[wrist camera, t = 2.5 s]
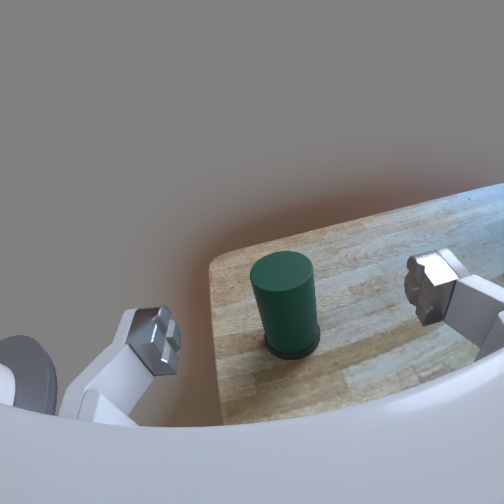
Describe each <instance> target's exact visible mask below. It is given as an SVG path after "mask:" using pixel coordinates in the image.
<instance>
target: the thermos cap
mask: <svg viewBox="0 0 504 504" xmlns="http://www.w3.org/2000/svg"><path fill="white" fill-rule="evenodd" d="M250 280H251V283H252V287H253V291H254V294H255V298H256V302H257V305H258V309H259V313H260V316H261V320H262V324H263V327H264V331H265V336H264V337H265V342H266V346H267V348H268V350H269V351H270V352H271V353H272V354H273V355H275V356H276V357H279V358H282V359H287V360H294V359H299V358H302V357H305V356H307V355H308V354H310V353H311V352H312V351H314V349H315V348H316V347H317V345H318V343H319V340H320V328H319V325H318V323H317V311H316V298H315V286H314V274H313V265H312V263H311V261H310V260H309V259H308V258H307V257H306V256H305V255H303V254H300V253H297V252H292V251H281V252H275V253H272V254H269V255H267V256H265V257H263V258H261V259H260V260H258V261H257V262H256V263H255V264H254V265H253V267H252V269H251V271H250Z"/></svg>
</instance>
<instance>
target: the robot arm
mask: <svg viewBox="0 0 504 504" xmlns="http://www.w3.org/2000/svg"><path fill="white" fill-rule="evenodd" d="M407 268H408V270H409V273H408V274H407V275H406V277H405V283H404V286H405V293H406V296H407V299H408V300H409V302H410V304H412V305H414V306H416V312H415V313H416V315H417V316H418V318H419V320H420V322H421V324H422V325H423V326H427V325H430V324H433V323H437V322H440V321H443V320H444V321H443V322H445V323H446V324H448V325H449V326H450V327H452V328H453V329H455V330H456V331H457V332H459V333H460V334H461V335H463V336H464V337H465V338H467V339H468V340H470V341H471V342H472V343H474V344H475V345H476V346H478V347H479V348H480V350H479V352H478V354H477V356H476V357H475V360H474V362H473V363H471V364H469V365H467V366H465V367H463V368H460V369H458V370H456V371H453V372H451V373H449V374H446V375H444V376H441V377H439V378H436V379H434V380H431V381H429V382H426V383H423V384H421V385H418V386H415V387H412V388H409V389H406V390H403V391H400V392H397V393H394V394H391V395H388V396H385V397H381V398H378V399H374V400H371V401H367V402H363V403H360V404H356V405H352V406H348V407H344V408H339V409H335V410H331V411H326V412H321V413H316V414H311V415H306V416H300V417H294V418H288V419H281V420H274V421H267V422H258V423H249V424H239V425H226V426H211V427H210V426H209V427H143V426H138V425H137V423H136V422H134V421H133V420H132V419H131V418H129V417H128V414H129V413H130V411H131V410H132V409H133V407H134V406H135V405H136V403H137V402H138V400H139V399H140V397H141V396H142V394H143V393H144V391H145V390H146V389H147V387H148V386H149V385H150V383H151V382H152V380H153V379H154V376H162V375H173V374H176V372H177V366H178V359H179V358H178V357H177V355H176V354H175V353H176V352H177V351H178V350H179V349H180V346H181V334H180V330H179V327H178V325H177V323H176V322H175V321H173V320H171V319H170V314H171V313H170V311H169V309H168V308H167V306H164V305H161V306H153V307H145V308H138V309H130V310H126V311H125V312H124V313H123V315H122V318H121V321H120V323H119V326H118V329H117V332H116V334H115V337H114V340H113V343H112V345H110V346H107V347H106V348H105V349H104V350H103V351H102V352H101V353H100V354H99V355H98V356H97V357H96V358H95V359H94V360H93V361H92V362H91V363H90V364H89V365H88V366H87V367H86V368H85V369H84V370H83V371H82V372H81V373H80V374H79V375H78V376H77V377H76V378H75V379H74V380H73V381H72V382H71V383H70V384H69V385H68V386H67V388H66V391H65V394H64V397H63V400H62V403H61V406H60V409H59V412H58V416H52V415H47V414H42V413H38V412H33V411H29V410H25V409H21V408H17V407H14V406H13V402H14V397H15V378H14V375H13V372H12V371H11V370H10V369H9V368H8V367H6V366H4V365H3V364H1V363H0V504H504V288H503V287H501V286H498V285H496V284H494V283H492V282H490V281H488V280H486V279H484V278H482V277H479V276H477V275H475V274H474V275H471V274H470V273H469V272H468V271H467V269H466V268H465V267H464V266H463V265H462V263H461V262H460V261H459V260H458V259H457V258H456V256H455V255H454V254H453V253H452V252H451V251H450V250H449V249H448V248H446V247H444V248H441V249H437V250H434V251H431V252H427V253H423V254H419V255H415V256H411V257H409V259H408V261H407Z"/></svg>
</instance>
